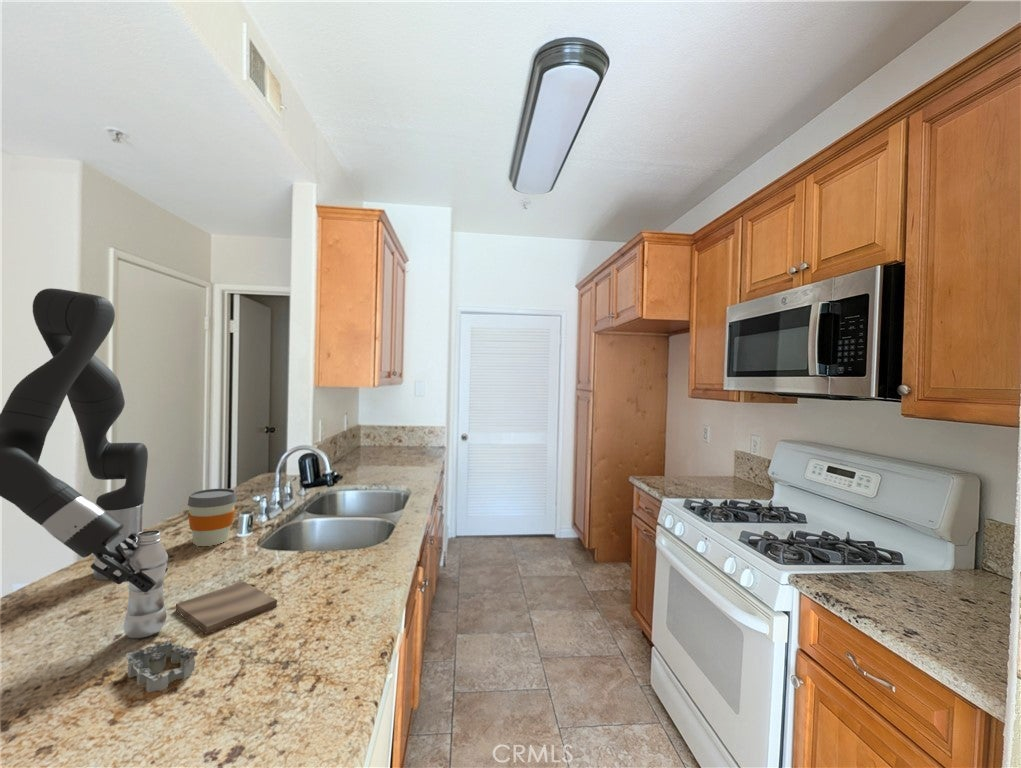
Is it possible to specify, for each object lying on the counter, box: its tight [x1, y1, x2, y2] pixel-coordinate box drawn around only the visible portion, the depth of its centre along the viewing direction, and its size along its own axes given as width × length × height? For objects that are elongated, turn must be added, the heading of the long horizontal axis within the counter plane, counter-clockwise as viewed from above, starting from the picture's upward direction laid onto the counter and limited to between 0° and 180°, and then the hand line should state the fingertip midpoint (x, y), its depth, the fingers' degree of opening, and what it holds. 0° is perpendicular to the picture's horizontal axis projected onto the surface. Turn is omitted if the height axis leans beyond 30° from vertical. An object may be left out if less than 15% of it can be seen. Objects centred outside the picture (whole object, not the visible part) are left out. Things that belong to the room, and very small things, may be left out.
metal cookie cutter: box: [125, 640, 198, 693], centre depth 77 cm, size 11×8×4 cm
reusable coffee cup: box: [187, 487, 237, 547], centre depth 137 cm, size 13×13×15 cm
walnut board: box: [175, 581, 278, 634], centre depth 98 cm, size 15×14×2 cm
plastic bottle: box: [123, 529, 169, 639], centre depth 88 cm, size 6×7×20 cm
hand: (157, 580), depth 88 cm, fingers closed on plastic bottle, 6 cm apart
